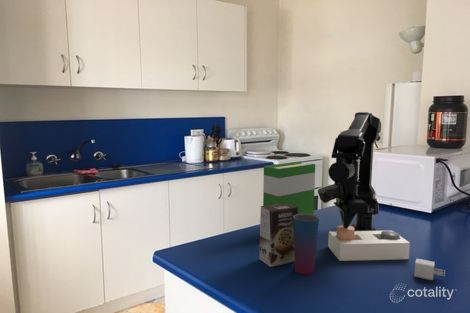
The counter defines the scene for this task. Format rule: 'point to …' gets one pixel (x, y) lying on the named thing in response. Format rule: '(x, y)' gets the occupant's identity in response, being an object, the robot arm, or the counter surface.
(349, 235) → the terracotta plunger
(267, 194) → the hardback book
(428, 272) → the usb wall charger
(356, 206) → the robot arm
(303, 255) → the cup
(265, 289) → the counter surface
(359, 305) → the counter surface
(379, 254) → the tray
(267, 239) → the brown cookie box
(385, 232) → the charcoal plunger
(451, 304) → the counter surface
